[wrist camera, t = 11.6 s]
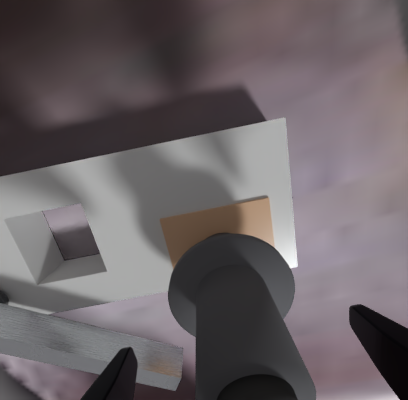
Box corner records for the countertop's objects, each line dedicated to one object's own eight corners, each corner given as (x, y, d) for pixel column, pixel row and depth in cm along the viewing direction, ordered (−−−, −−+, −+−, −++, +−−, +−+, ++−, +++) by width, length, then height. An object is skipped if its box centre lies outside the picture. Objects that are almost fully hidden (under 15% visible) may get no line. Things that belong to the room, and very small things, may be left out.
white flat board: (282, 261, 18) (300, 286, 15) (-5, 316, 18) (-46, 351, 15) (267, 122, 15) (286, 116, 11) (-79, 194, 15) (-150, 207, 12)
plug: (274, 287, 15) (376, 478, 6) (186, 303, 15) (173, 511, 6) (264, 203, 13) (387, 316, 5) (165, 222, 13) (108, 366, 5)
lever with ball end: (177, 353, 16) (173, 403, 13) (-20, 305, 14) (-80, 350, 11) (185, 336, 16) (182, 383, 12) (-18, 284, 14) (-81, 326, 11)
